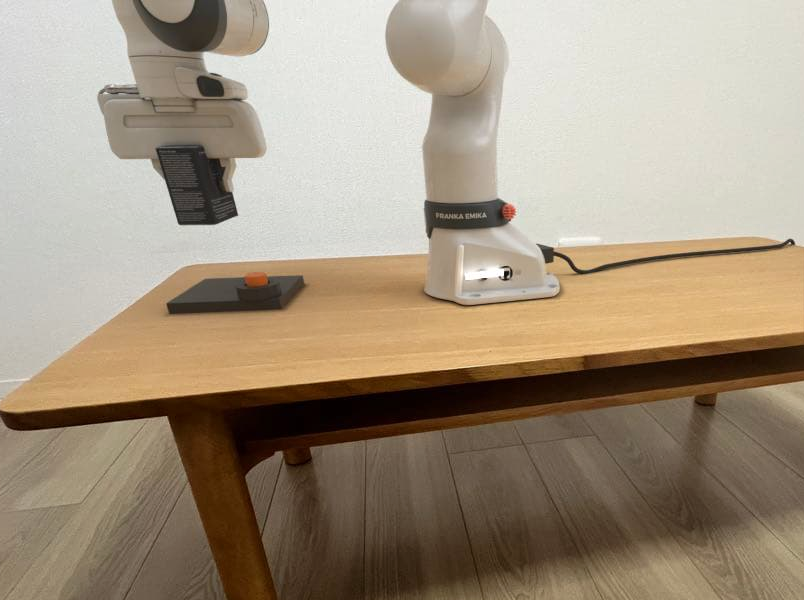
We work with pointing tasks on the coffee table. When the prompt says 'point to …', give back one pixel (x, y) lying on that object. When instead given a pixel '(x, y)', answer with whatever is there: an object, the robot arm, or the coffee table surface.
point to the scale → (236, 295)
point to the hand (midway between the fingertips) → (202, 192)
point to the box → (195, 185)
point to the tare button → (256, 279)
